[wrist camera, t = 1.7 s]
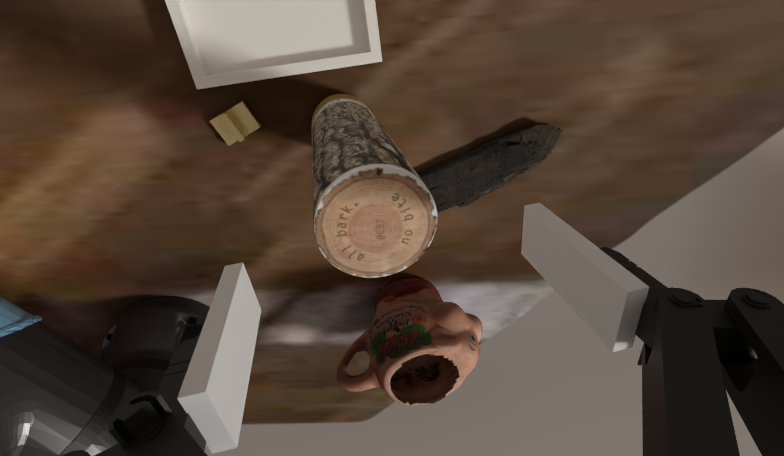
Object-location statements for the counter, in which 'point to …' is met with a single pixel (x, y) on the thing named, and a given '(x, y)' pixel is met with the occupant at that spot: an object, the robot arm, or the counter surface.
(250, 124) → the tan short block
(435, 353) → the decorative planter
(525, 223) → the robot arm
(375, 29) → the ceramic dish
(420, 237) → the paper tube
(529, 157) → the wood
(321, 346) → the counter surface
